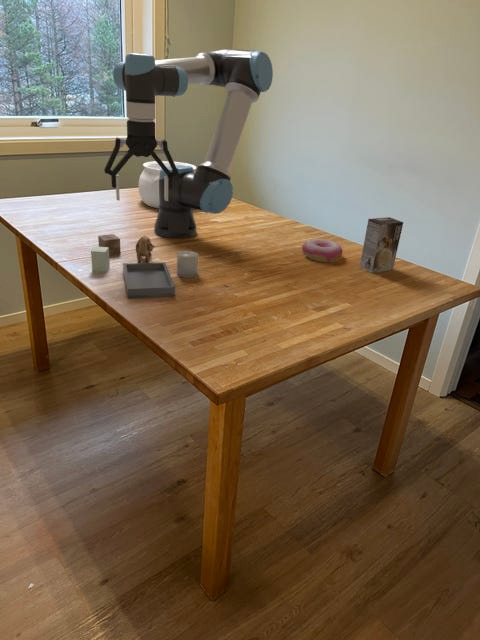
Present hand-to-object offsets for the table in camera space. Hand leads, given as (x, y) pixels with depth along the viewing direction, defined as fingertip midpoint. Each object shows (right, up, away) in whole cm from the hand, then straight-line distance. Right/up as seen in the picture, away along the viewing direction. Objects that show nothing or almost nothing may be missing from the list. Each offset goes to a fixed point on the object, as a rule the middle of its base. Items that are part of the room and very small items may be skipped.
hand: (142, 199), depth 137 cm
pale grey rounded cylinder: (+13, -21, +2) cm, 25 cm away
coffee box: (+72, -18, +19) cm, 77 cm away
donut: (+55, -13, +25) cm, 62 cm away
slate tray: (+3, -24, -6) cm, 25 cm away
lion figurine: (-1, -17, +9) cm, 19 cm away
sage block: (-12, -20, +1) cm, 23 cm away
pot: (-3, +16, +73) cm, 75 cm away
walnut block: (-13, -13, +13) cm, 23 cm away
